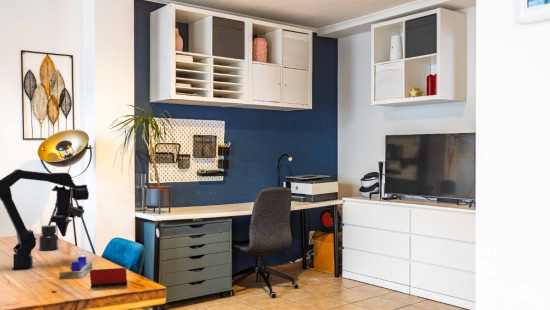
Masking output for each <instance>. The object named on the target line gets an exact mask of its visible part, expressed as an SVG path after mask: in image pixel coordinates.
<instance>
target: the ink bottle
mask: <svg viewBox="0 0 550 310" xmlns="http://www.w3.org/2000/svg"><path fill="white" fill-rule="evenodd" d="M56 233H57V225H56V224H55V225H54V224H53V225H52V224H47V225H41V234H40V236H39V239H38V243H39V247H38V248H39V251H42V252H44V251H46V252H49V251H56V250H58V249H59V235H57V234H56Z"/></svg>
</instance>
